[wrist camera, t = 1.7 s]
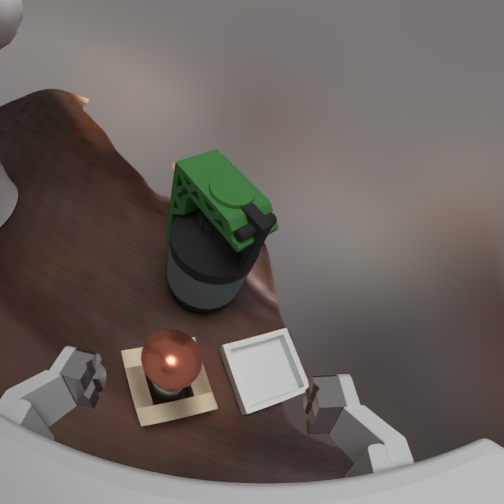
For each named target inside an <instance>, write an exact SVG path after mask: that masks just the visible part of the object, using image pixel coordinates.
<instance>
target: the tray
mask: <svg viewBox="0 0 504 504" xmlns="http://www.w3.org/2000/svg"><path fill="white" fill-rule="evenodd" d="M219 352H220V355H221V358H222V361H223V363H224V366H225V369H226V372H227V375H228V378H229V381H230V384H231V386H232V389H233V392H234V395H235V398H236V400H237V403H238V406H239V408H240V411H241V414H242V415H244V414H249V413H252V412H255V411H258V410H261V409H263V408H266V407H269V406H272V405H274V404H277V403H279V402H282V401H285V400H287V399H289V398H292V397H295V396H297V395H299V394H302V393H304V392H305V390H306V389H307V388H308V387H309V384H308V380H307V378H306V375H305V373H304V370H303V368H302V365H301V363H300V360H299V358H298V355H297V353H296V351H295V348H294V345H293V343H292V340H291V338H290V335H289V333H288V330H287V328H284V329H280V330H277V331H273V332H270V333H266V334H263V335H259V336H255V337H252V338H248V339H244V340H240V341H236V342H232V343H228V344H224V345H222V346H221V348H220V349H219Z"/></svg>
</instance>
